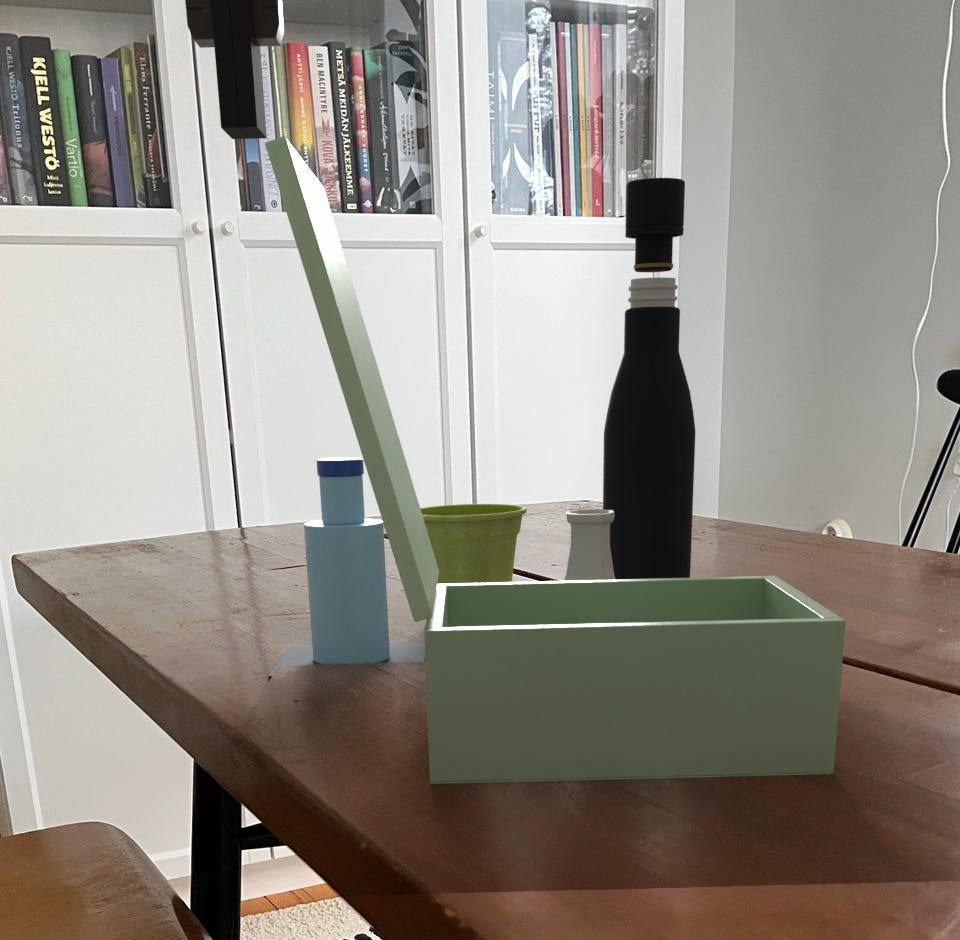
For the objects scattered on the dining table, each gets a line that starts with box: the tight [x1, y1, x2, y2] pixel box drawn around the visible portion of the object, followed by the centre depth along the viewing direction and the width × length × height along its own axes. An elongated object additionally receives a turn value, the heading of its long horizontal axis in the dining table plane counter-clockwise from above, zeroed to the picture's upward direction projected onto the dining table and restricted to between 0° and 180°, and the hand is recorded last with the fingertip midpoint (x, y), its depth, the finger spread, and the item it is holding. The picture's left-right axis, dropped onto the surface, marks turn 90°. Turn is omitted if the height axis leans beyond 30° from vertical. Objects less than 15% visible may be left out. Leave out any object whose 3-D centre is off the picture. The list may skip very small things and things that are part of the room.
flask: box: [562, 508, 616, 581], centre depth 82 cm, size 7×7×10 cm
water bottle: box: [303, 457, 390, 665], centre depth 84 cm, size 5×5×13 cm
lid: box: [264, 135, 439, 623], centre depth 58 cm, size 19×14×1 cm
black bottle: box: [602, 177, 696, 580], centre depth 88 cm, size 6×6×30 cm
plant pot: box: [420, 503, 528, 584], centre depth 100 cm, size 9×9×9 cm
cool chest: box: [423, 575, 847, 785], centre depth 63 cm, size 19×14×8 cm
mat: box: [267, 641, 425, 682], centre depth 86 cm, size 10×10×1 cm
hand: (244, 132), depth 55 cm, fingers closed
